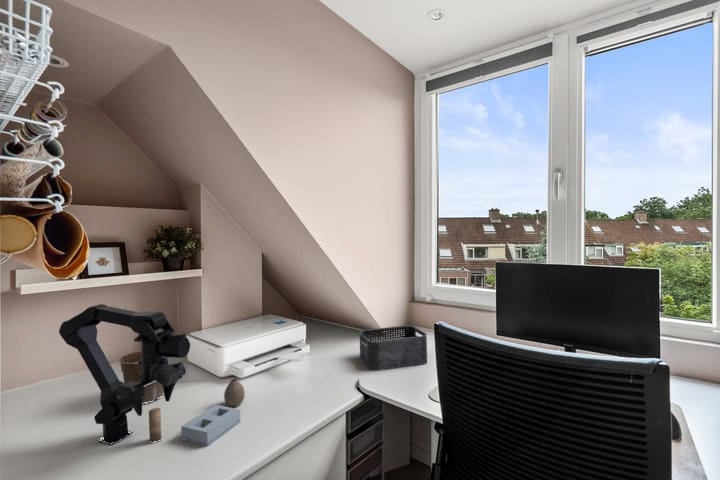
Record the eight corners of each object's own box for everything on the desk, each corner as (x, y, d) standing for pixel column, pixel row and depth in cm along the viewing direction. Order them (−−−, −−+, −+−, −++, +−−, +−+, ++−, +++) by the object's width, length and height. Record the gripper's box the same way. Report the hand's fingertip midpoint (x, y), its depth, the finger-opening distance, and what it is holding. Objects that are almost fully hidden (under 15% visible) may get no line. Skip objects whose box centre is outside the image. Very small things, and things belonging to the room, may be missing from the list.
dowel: (147, 442, 107) (146, 411, 106) (156, 436, 109) (155, 407, 109) (154, 444, 106) (153, 413, 105) (163, 438, 108) (162, 408, 108)
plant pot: (171, 385, 146) (170, 345, 146) (169, 402, 132) (168, 358, 131) (124, 393, 139) (122, 352, 139) (116, 412, 125) (115, 366, 124)
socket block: (181, 439, 108) (181, 426, 108) (216, 416, 121) (215, 404, 121) (207, 446, 104) (207, 432, 104) (240, 421, 117) (240, 409, 117)
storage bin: (370, 372, 157) (370, 341, 157) (357, 357, 175) (357, 330, 175) (430, 364, 165) (429, 335, 165) (412, 350, 184) (411, 324, 183)
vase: (237, 398, 134) (237, 374, 134) (248, 403, 130) (248, 379, 129) (220, 405, 129) (219, 380, 128) (231, 411, 124) (230, 385, 124)
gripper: (143, 371, 95) (144, 429, 96) (198, 349, 113) (199, 398, 113) (114, 365, 99) (115, 421, 100) (171, 345, 117) (173, 393, 117)
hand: (154, 408), depth 107 cm, fingers open, 9 cm apart
